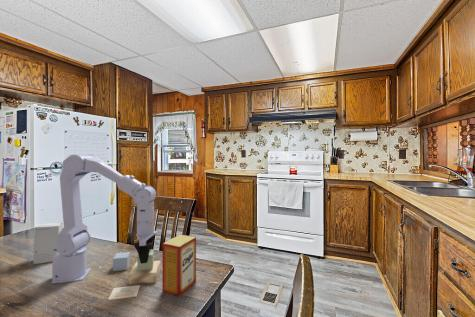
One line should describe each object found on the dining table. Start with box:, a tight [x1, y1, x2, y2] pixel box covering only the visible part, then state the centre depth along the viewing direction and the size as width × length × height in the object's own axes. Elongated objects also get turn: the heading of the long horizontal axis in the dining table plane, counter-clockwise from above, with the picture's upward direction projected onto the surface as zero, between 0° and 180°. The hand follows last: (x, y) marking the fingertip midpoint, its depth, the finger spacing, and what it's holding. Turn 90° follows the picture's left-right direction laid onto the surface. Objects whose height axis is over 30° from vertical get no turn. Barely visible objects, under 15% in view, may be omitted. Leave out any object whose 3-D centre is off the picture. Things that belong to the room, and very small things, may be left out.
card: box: [108, 284, 141, 301], centre depth 74 cm, size 8×6×1 cm
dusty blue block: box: [112, 251, 131, 272], centre depth 90 cm, size 5×5×5 cm
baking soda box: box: [161, 234, 197, 297], centre depth 78 cm, size 10×6×16 cm
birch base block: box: [128, 260, 162, 285], centre depth 84 cm, size 9×9×4 cm
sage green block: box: [136, 248, 155, 271], centre depth 84 cm, size 5×5×5 cm
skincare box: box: [32, 222, 64, 265], centre depth 96 cm, size 8×6×15 cm
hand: (145, 257), depth 84 cm, fingers open, 7 cm apart
